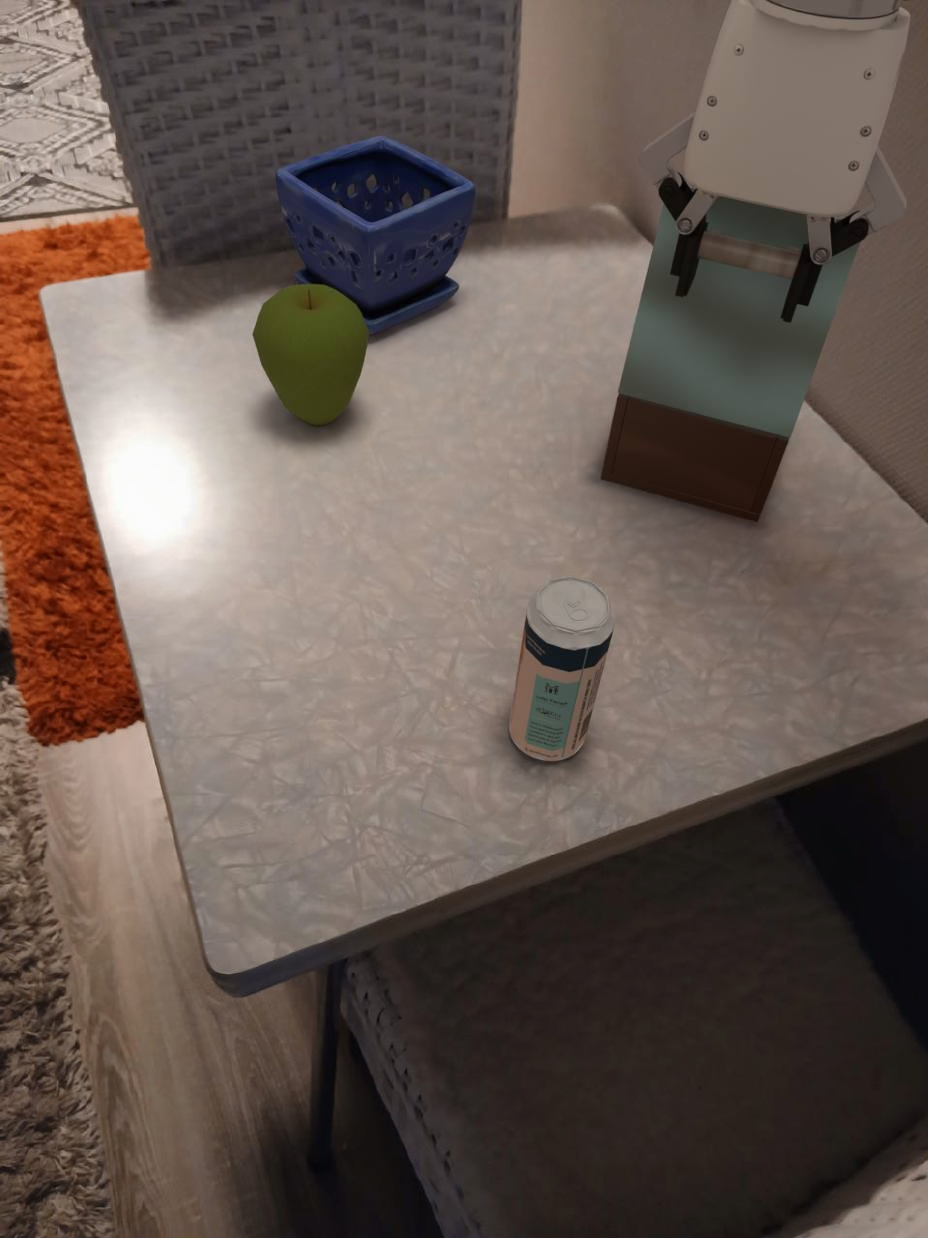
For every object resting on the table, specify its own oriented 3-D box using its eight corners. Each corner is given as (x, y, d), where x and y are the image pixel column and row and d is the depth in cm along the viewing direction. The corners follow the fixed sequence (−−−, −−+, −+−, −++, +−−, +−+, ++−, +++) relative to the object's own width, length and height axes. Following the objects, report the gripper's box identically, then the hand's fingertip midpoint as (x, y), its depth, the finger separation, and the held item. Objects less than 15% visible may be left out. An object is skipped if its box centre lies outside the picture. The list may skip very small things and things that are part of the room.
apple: (243, 427, 79) (225, 298, 71) (302, 376, 84) (292, 250, 76) (334, 463, 77) (326, 334, 68) (389, 408, 82) (388, 282, 73)
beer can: (567, 695, 63) (596, 563, 54) (596, 755, 60) (633, 626, 51) (497, 712, 61) (515, 579, 53) (523, 773, 58) (548, 645, 50)
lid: (670, 180, 64) (656, 191, 59) (866, 222, 61) (867, 237, 57) (619, 389, 71) (603, 414, 67) (790, 434, 69) (786, 462, 65)
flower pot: (475, 305, 94) (484, 181, 85) (370, 355, 87) (368, 226, 78) (383, 251, 99) (382, 130, 91) (278, 294, 93) (267, 168, 84)
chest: (640, 387, 86) (658, 307, 80) (782, 423, 84) (811, 344, 78) (600, 478, 77) (617, 396, 72) (757, 522, 75) (788, 441, 69)
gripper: (1008, -18, 50) (877, 302, 63) (678, -71, 53) (620, 243, 66) (1009, 26, 45) (867, 362, 58) (646, -36, 48) (590, 295, 62)
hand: (736, 296), depth 62 cm, fingers closed on lid, 6 cm apart
